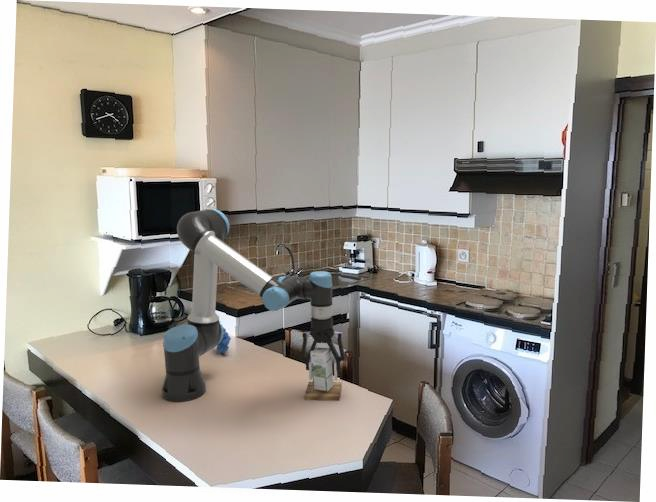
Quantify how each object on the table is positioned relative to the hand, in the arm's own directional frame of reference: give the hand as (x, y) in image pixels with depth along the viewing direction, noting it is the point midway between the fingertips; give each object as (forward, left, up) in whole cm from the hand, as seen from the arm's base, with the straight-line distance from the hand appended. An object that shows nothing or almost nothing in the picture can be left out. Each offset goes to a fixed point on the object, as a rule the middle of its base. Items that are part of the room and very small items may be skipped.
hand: (323, 378), depth 184 cm
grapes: (-47, +38, -5) cm, 61 cm away
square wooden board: (0, 0, -5) cm, 5 cm away
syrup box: (0, 0, -4) cm, 4 cm away
